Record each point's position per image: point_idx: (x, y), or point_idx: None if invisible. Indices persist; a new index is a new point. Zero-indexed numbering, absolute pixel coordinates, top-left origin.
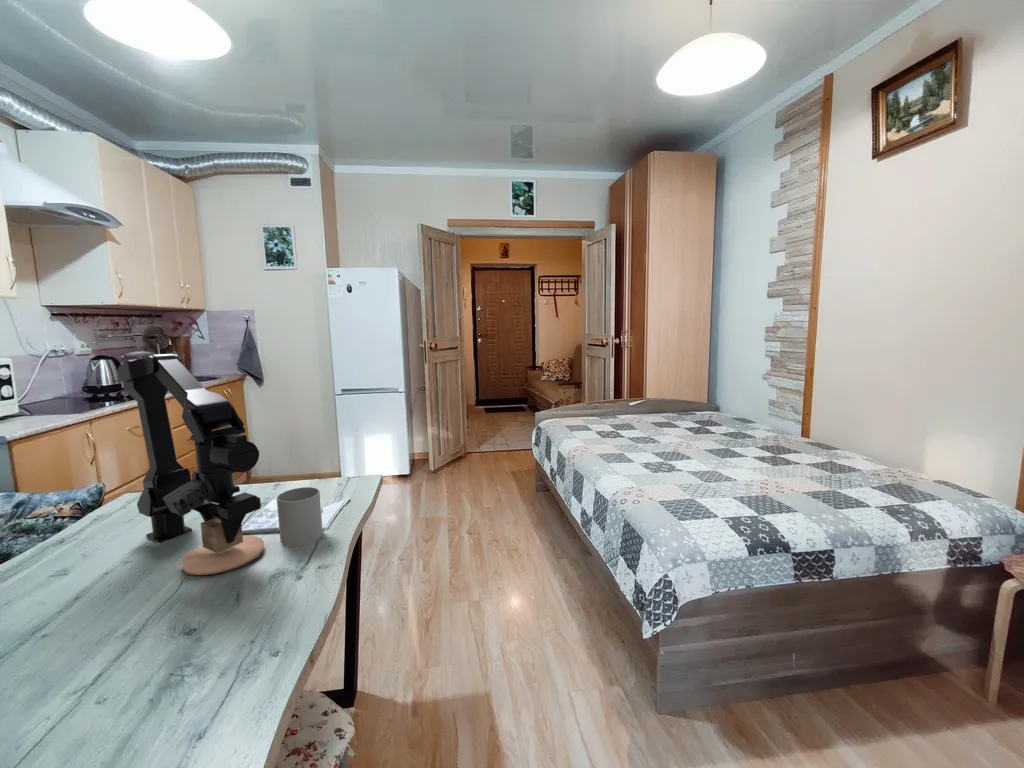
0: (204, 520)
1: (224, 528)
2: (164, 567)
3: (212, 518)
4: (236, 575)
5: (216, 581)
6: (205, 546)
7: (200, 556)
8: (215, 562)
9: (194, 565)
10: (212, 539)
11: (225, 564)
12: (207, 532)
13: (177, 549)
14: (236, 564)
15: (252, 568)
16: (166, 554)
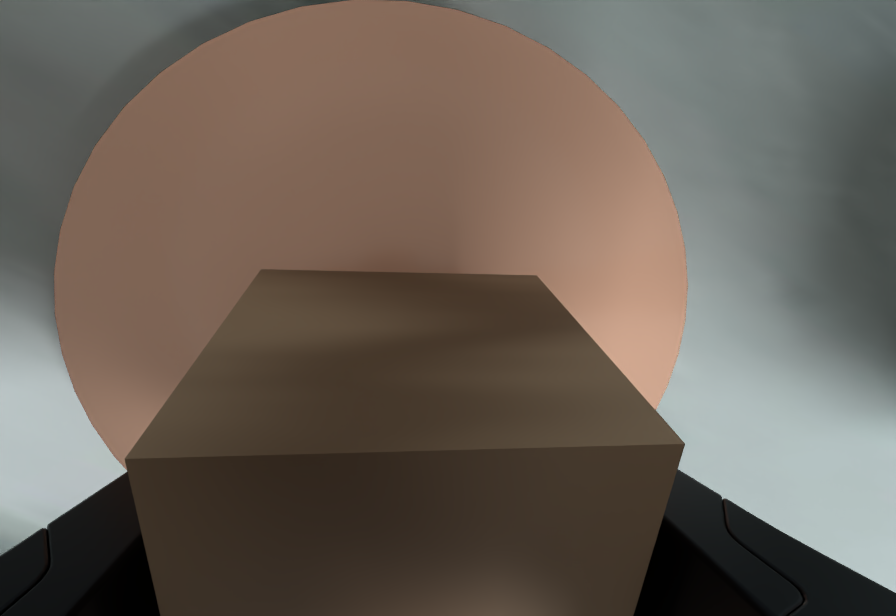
0: (738, 520)
1: (59, 546)
2: (724, 19)
3: (654, 605)
4: (5, 221)
5: (35, 77)
6: (492, 280)
7: (507, 217)
8: (259, 215)
9: (383, 86)
10: (310, 330)
11: (126, 235)
12: (435, 370)
13: (868, 242)
14: (59, 286)
15: (26, 341)
16: (889, 160)
